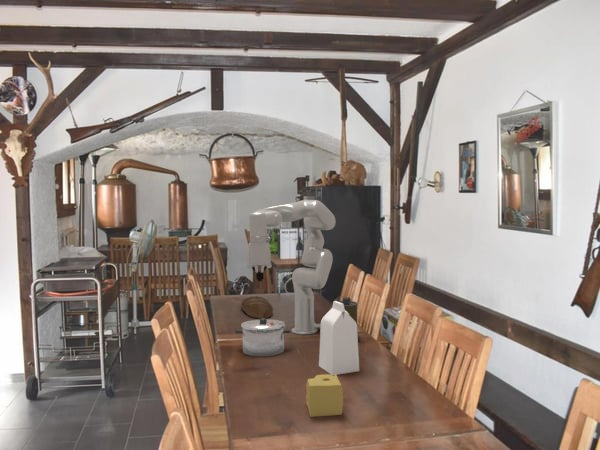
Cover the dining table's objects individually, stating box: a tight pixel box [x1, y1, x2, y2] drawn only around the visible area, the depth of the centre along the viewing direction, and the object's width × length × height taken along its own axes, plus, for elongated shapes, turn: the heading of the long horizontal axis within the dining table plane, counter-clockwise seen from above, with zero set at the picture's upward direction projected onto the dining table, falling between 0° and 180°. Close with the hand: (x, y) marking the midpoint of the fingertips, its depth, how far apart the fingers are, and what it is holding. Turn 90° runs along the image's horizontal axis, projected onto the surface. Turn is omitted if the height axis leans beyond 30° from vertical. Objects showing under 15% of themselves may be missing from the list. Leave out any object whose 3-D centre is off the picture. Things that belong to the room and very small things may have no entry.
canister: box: [338, 296, 359, 325], centre depth 249 cm, size 11×10×20 cm
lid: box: [240, 318, 286, 331], centre depth 235 cm, size 19×20×3 cm
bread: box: [240, 295, 274, 320], centre depth 310 cm, size 16×36×8 cm, turn 17°
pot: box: [235, 327, 292, 357], centre depth 235 cm, size 24×18×10 cm
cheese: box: [305, 373, 344, 418], centre depth 170 cm, size 10×11×10 cm
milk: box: [318, 300, 360, 376], centre depth 210 cm, size 12×12×26 cm
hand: (260, 281), depth 239 cm, fingers closed
